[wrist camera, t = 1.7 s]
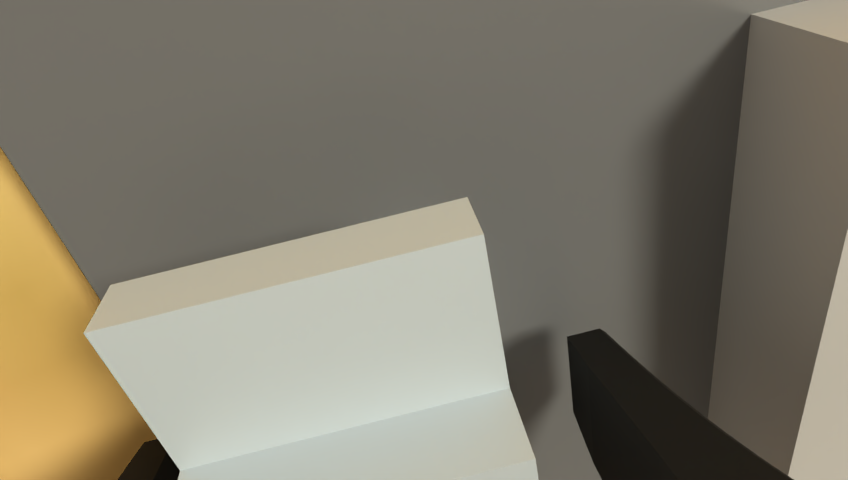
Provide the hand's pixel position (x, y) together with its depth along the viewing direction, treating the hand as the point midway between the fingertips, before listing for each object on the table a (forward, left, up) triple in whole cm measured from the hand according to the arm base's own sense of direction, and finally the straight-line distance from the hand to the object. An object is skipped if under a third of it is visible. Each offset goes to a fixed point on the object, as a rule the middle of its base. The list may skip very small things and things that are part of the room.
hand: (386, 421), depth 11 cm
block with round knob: (0, 0, -1) cm, 1 cm away
